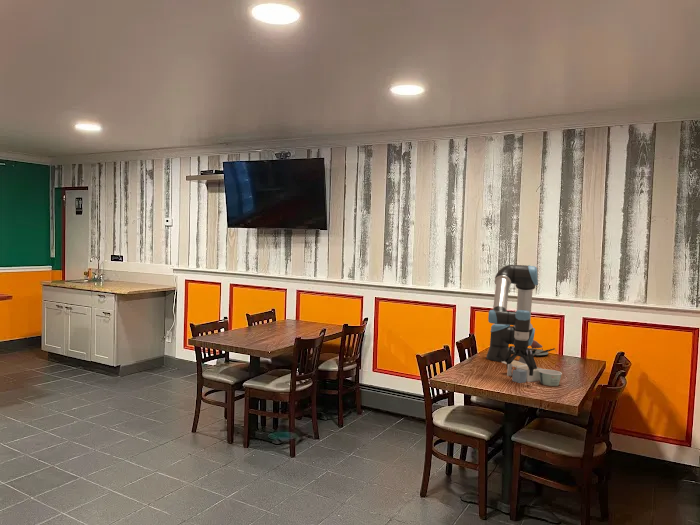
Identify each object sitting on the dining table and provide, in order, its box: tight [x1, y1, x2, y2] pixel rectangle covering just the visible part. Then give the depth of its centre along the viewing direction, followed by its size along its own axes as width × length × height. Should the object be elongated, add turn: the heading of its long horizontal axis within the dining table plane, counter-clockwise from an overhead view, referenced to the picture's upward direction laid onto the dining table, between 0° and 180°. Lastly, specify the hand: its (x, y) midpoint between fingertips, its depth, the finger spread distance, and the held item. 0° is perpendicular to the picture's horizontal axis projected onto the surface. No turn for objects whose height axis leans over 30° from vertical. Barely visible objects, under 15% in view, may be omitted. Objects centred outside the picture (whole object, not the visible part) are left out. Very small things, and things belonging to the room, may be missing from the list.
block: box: [511, 368, 527, 384], centre depth 294 cm, size 5×5×6 cm
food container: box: [539, 368, 563, 387], centre depth 293 cm, size 12×12×6 cm
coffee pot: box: [517, 347, 557, 364], centre depth 321 cm, size 21×12×15 cm, turn 72°
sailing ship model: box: [513, 339, 549, 356], centre depth 381 cm, size 28×28×11 cm
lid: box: [501, 359, 527, 368], centre depth 311 cm, size 11×11×1 cm
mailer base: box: [515, 366, 543, 383], centre depth 302 cm, size 10×11×6 cm
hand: (519, 378), depth 294 cm, fingers open, 13 cm apart
